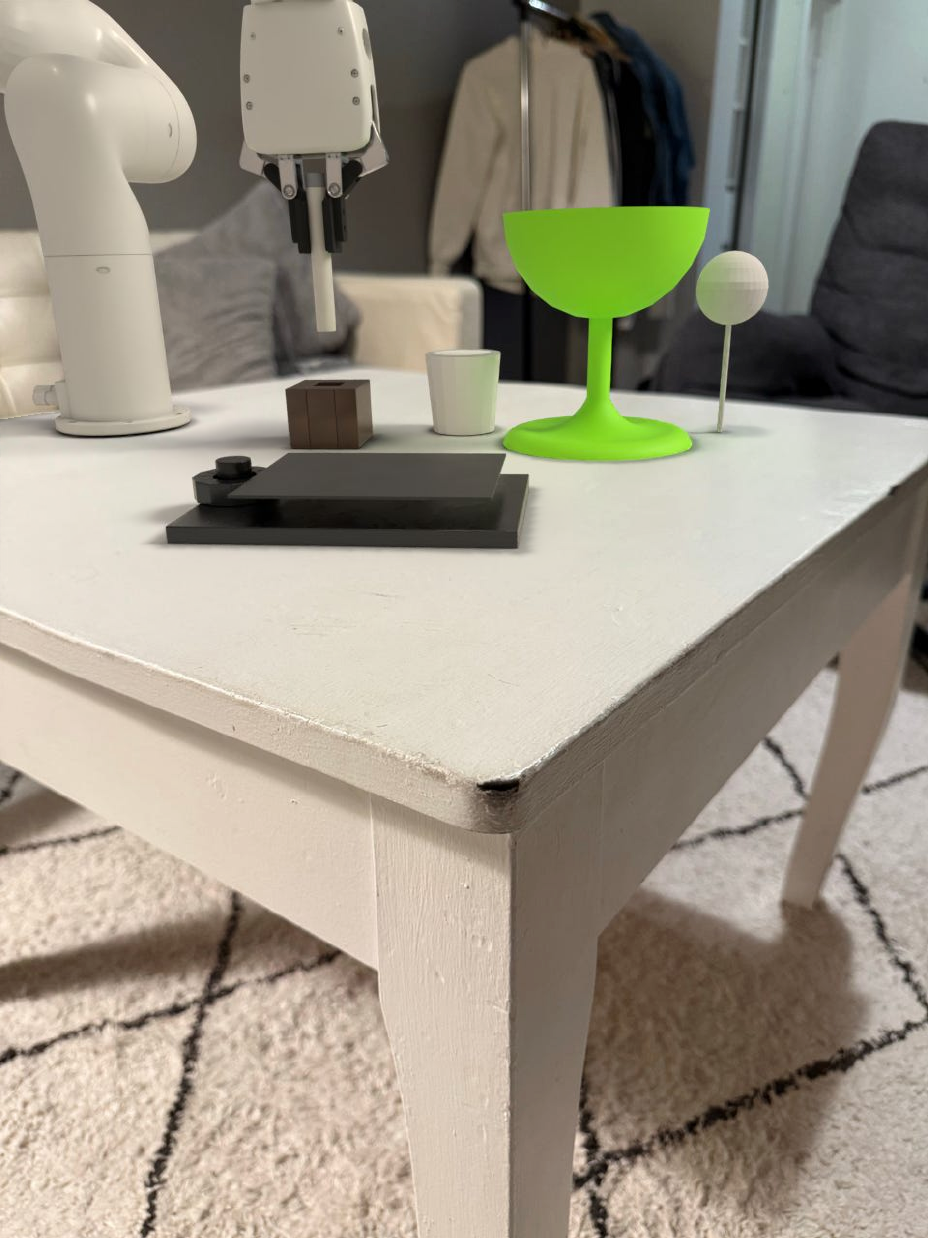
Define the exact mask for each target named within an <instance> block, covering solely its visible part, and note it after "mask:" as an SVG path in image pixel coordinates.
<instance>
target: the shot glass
mask: <svg viewBox="0 0 928 1238" xmlns="http://www.w3.org/2000/svg"><path fill="white" fill-rule="evenodd" d="M424 355H425V364H426V365H425V366H426V372H427V373H426V375H427V380H428V389H429V397H430V405H431V414H432V423H433V430H434V432H435V433H437V434H440V435H445V436H446V435H447V436H475V435H477V436H478V435H484V434H489V433H493V432H494V431H495V426H496V413H497V401H498V391H499V390H498V388H499V378H500V377H499V376H500V364H501V351H498V350H494V349H488V348H487V349H486V348H451V349H440V350H434V351H429V352H426V353H425V354H424Z"/></svg>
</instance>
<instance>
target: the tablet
mask: <svg viewBox="0 0 928 1238" xmlns="http://www.w3.org/2000/svg"><path fill="white" fill-rule="evenodd" d="M266 468H267V467H266V466H265V467H264V466H259V465H257V466H256V465H252V472H253V477H254V476H256V475H257V474H258V473H260V472H261V471H263V470H264V469H266ZM253 477H249V478H245V479H237V480H218V479H217V473H216V468H212V469H209V470H205V471H200V472H199V473H197V474H195V475H194V476H192V477H191V483H192V488H193V496H194V497H193V498H194V500H195V502H197V505H195V506H194V507H193V508H191V509H190V510H188V511H187V512H185V513H184V514H182V515H181V516H179V517H178V518H176V519H175V520H174V521H172V522H171V523H169V524H168V525H166V526H165V533H166V534H165V535H166V542H167V544H171V545H172V544H174V545H175V544H177V545H179V544H180V545H181V544H182V545H236V546H237V545H238V546H239V545H240V546H241V545H243V546H244V545H245V546H309V547H311V546H313V547H314V546H315V547H373V548H374V547H377V548H379V547H380V548H383V547H384V548H439V549H441V548H445V549H451V548H452V549H456V548H457V549H458V548H459V549H509V550H511V549H513V550H515V549H518V548H519V543H520V539H521V533H522V527H523V523H524V517H525V511H526V506H527V501H528V496H529V490H530V474H529V473H500V476H499V479H498V482H497V485H496V488H495V491H494V495H493V498H492V501H450V500H342V499H233V498H228V496H227V495H228V494H230V493H231V492H233V491H234V490H236V489H237V488H238V487H240V486H241V485H243V484H244V483H246V482H247V481H248V480H250V479H251V478H253Z"/></svg>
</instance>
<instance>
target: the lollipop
mask: <svg viewBox="0 0 928 1238" xmlns="http://www.w3.org/2000/svg"><path fill="white" fill-rule="evenodd" d="M695 286H696V287H695V297H696V301H697V304H698V307H699V310H700V311H701V312H702V314H703V315H704V316H706V318H707V319H709V320H710V321H712V322H714V323H716V324H719V325H723V326H724V325H725V331H724V340H723V341H724V343H723V353H722V365H721V367H722V368H721V378H720V391H719V402H718V411H717V413H718V414H717V425H716V433H723V427H724V414H725V405H726V404H725V403H726V391H727V382H728V381H727V380H728V369H729V358H730V347H731V346H730V345H731V333H732V326H734V325H735V326H736V325H738V324H742V323H744V322H746V321H748V320H750V319H751V318H752V317H754V316H755V315H756V314H757V313H758V311H760V310H761V308H763V307H762V306H763V305H764V303H765V301H766V299H767V297H768V292H769V278H768V273H767V271H766V268H765V267H764V264H763V263H762V262H761V261H760V260H759V259H758V258H757V257H755V255H753V254H751V253H748V252H745V251H743V250H729V251H725V252H722V253H719V254H718V255H716V256H714V257H713V258H712V259H711V260H709V261H708V262H707V263H706V264H705V265H704V267H703V268H702V269H701V272H700V274H699V276H698V278H697V281H696V285H695Z"/></svg>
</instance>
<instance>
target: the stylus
mask: <svg viewBox="0 0 928 1238" xmlns="http://www.w3.org/2000/svg"><path fill="white" fill-rule="evenodd" d="M304 181H305V191H306V195H307V207H308V220H309V232H310V245H311V254H310V257H311V268H312V269H311V270H312V282H313V283H312V284H313V294H314V295H313V296H314V306H315V320H316V331H317V332H318V333H332V332H333V333H335V332H336V331H337V321H336V320H337V319H336V306H335V305H336V304H335V293H334V278H333V265H332V253H328V251H325V243H324V229H323V216H322V200H323V198H326V195H325V191H326V190H327V178H326V172H325V173H324V172H306V173H304Z"/></svg>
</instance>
